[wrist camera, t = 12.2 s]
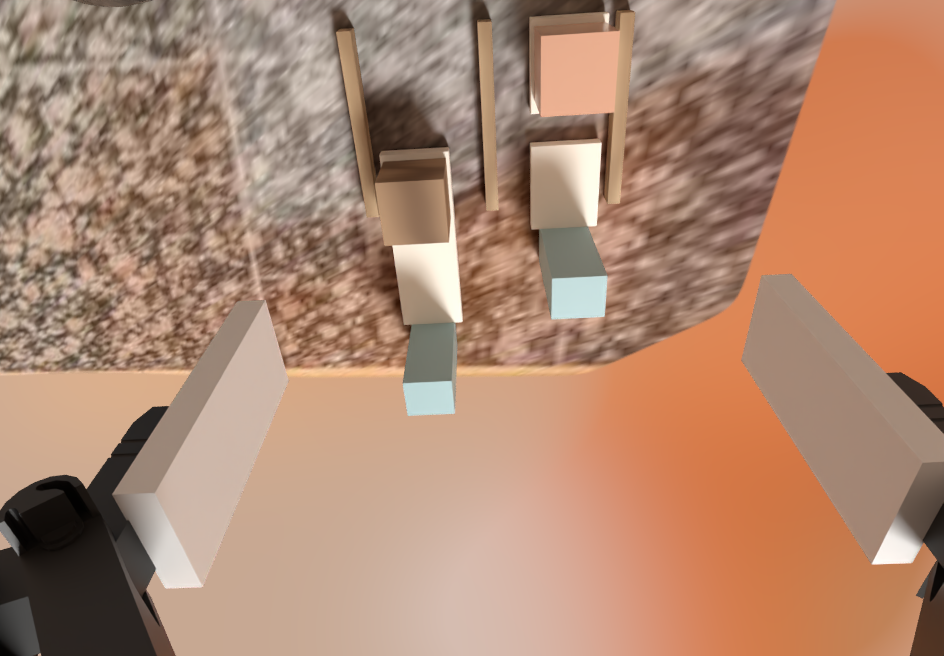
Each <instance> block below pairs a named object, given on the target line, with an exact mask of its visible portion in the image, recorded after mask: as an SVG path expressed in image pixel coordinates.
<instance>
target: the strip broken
mask: <svg viewBox="0 0 944 656" xmlns="http://www.w3.org/2000/svg"><path fill="white" fill-rule="evenodd" d="M593 22H607V23H608V24H609V13H608V12H594V13H579V14H564V15H549V16H534V17H529V69H530V113H531V114H539V111H538V109H537V106H536V103H535V101H534V26H548V25H563V24H578V23H593ZM601 144H602V143H601V141H600V140H599V139H583V140H566V141H549V142H533V143H530V225H531V229H532V230H533V229H539V262H540V267H541V272H542V277H543V282H544V286H545V291H546V296H547V301H548V306H549V310H550V315H551V319H569V318H589V317H604V316H605V303H606V289H607V273H606V271H605V268H604V266H603V263H602V261H601V258H600V256H599V253H598V251H597V248H596V246H595V243H594V241H593V238H592V236H591V233H590V231H589V228H588V226H597V211H598V194H599V178H600V161H601Z"/></svg>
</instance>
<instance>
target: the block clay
mask: <svg viewBox="0 0 944 656" xmlns="http://www.w3.org/2000/svg"><path fill="white" fill-rule="evenodd" d="M619 39H620V31H619V30H618V29H616V28H615V27H613V26H611V25H610V24H608V23H607V22H593V23H578V24H563V25H548V26H534V101H535V103H536V106H537V109H538V111H539V114H540V116H541V117H548V116H564V115H581V114H597V113H614V111H615V97H616V82H617V68H618V54H619Z"/></svg>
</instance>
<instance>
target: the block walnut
mask: <svg viewBox="0 0 944 656" xmlns="http://www.w3.org/2000/svg"><path fill="white" fill-rule="evenodd" d="M375 188H376V195H377V201H378V208H379V215H380V221H381V228H382V234H383V241H384V246H393V245H412V244H430V243H449V235H450V222H451V212H450V200H449V188H448V177H447V165H446V158H436V159H419V160H402V161H385V162H383V164H382V166H381V169H380V171H379V174H378V176H377V179H376V181H375Z"/></svg>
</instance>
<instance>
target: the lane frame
mask: <svg viewBox="0 0 944 656" xmlns="http://www.w3.org/2000/svg"><path fill="white" fill-rule="evenodd" d="M634 21H635V12H634V11H632V10H620V11H616V20H615V28H616V29H618V30H619V31H620V39H619V54H618V68H617V82H616V97H615V111H614V113H609V127H608V142H607V157H606V173H605V188H604V198H605V200H606V202H607V204H616V203H620V194H621V181H622V169H623V157H624V144H625V132H626V120H627V107H628V95H629V82H630V70H631V58H632V45H633V33H634ZM477 28H478V48H479V69H480V90H481V110H482V131H483V151H484V172H485V193H486V211H491V210H498V184H497V157H496V130H495V103H494V75H493V48H492V22H491V19H484V20H477ZM336 35H337V41H338V47H339V53H340V59H341V65H342V71H343V77H344V83H345V89H346V95H347V101H348V107H349V113H350V119H351V125H352V131H353V137H354V143H355V149H356V155H357V161H358V167H359V173H360V179H361V185H362V191H363V197H364V203H365V209H366V215H367V217H379V208H378V201H377V195H376V188H375V181H376V179H377V178H376V172H375V165H374V158H373V152H372V145H371V139H370V132H369V125H368V119H367V112H366V105H365V99H364V92H363V85H362V79H361V72H360V66H359V59H358V52H357V46H356V39H355V32H354V28H348V29H340V30H338V31H337V32H336Z"/></svg>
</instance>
